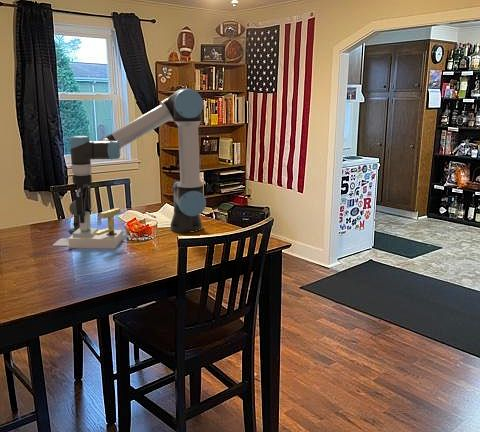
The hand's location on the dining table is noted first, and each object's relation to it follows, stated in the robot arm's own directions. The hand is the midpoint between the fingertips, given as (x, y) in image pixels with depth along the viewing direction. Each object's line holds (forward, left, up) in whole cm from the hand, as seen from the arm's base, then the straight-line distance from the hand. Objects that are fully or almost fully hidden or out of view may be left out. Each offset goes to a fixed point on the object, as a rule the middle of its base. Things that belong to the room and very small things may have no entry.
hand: (85, 228), depth 200 cm
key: (-10, +2, -2) cm, 11 cm away
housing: (-4, 0, -6) cm, 8 cm away
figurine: (+9, -17, -7) cm, 20 cm away
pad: (+9, 0, -6) cm, 11 cm away
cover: (0, 0, -2) cm, 2 cm away
